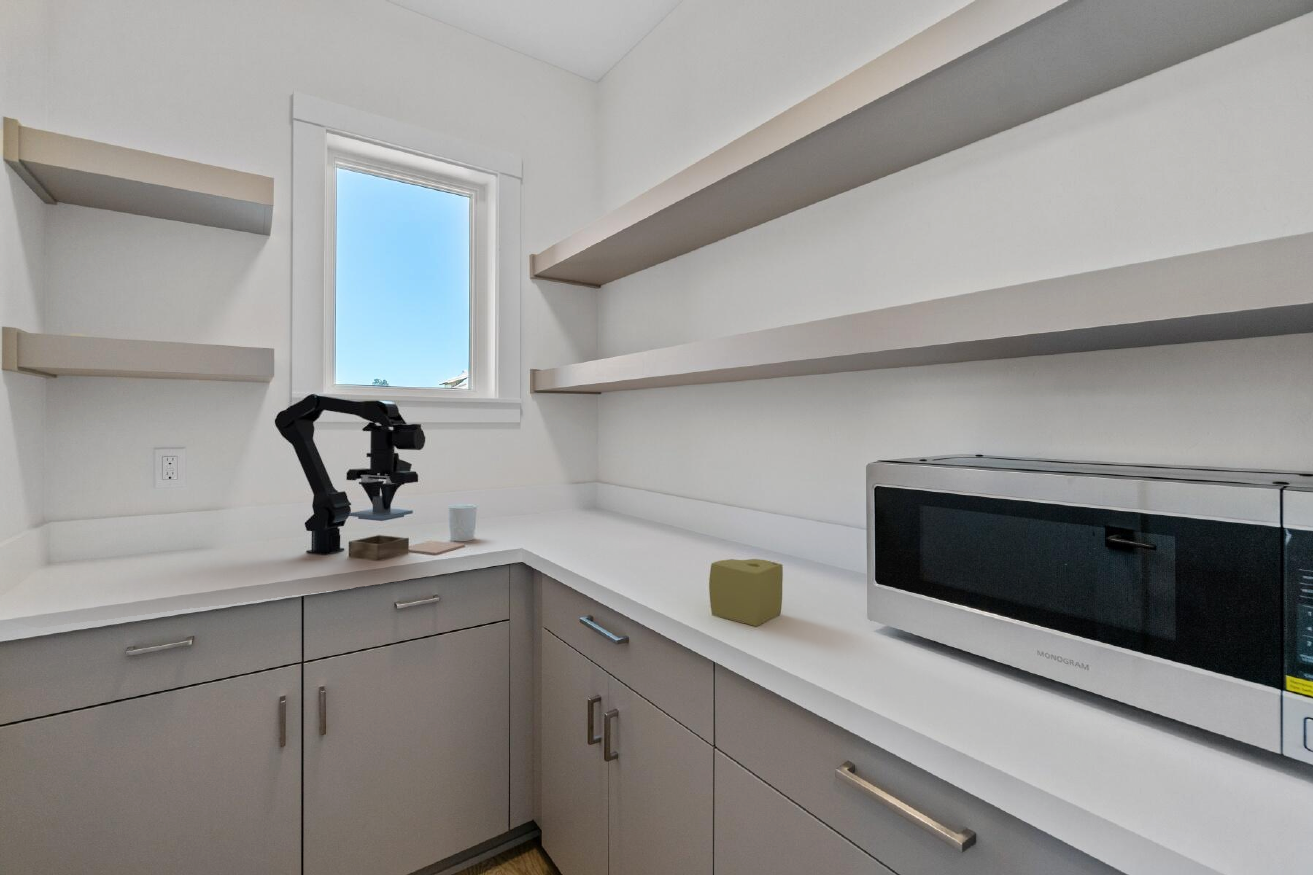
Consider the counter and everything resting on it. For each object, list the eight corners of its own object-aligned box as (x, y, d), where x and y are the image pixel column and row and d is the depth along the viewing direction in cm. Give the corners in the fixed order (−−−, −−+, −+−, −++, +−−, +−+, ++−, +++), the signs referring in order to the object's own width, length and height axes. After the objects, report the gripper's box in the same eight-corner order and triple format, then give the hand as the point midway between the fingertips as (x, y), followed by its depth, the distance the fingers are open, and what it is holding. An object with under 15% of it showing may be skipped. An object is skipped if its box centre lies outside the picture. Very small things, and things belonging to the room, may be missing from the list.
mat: (399, 550, 157) (399, 548, 157) (430, 542, 168) (430, 540, 168) (435, 555, 153) (435, 552, 153) (464, 546, 164) (464, 544, 164)
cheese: (736, 603, 118) (737, 554, 118) (785, 615, 111) (786, 563, 111) (707, 615, 110) (708, 562, 110) (757, 629, 103) (759, 573, 103)
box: (348, 557, 149) (348, 541, 148) (378, 549, 158) (379, 534, 158) (379, 560, 145) (379, 545, 145) (408, 552, 155) (408, 537, 155)
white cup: (470, 542, 170) (471, 508, 170) (444, 541, 170) (444, 507, 170) (479, 537, 178) (480, 504, 178) (454, 536, 178) (454, 504, 178)
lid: (349, 519, 148) (349, 497, 148) (381, 513, 159) (381, 493, 158) (381, 522, 145) (382, 499, 145) (412, 516, 155) (413, 495, 155)
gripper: (433, 449, 156) (432, 507, 156) (378, 447, 162) (377, 502, 162) (402, 450, 145) (401, 513, 146) (345, 448, 152) (344, 507, 152)
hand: (381, 508), depth 152 cm, fingers closed on lid, 3 cm apart
